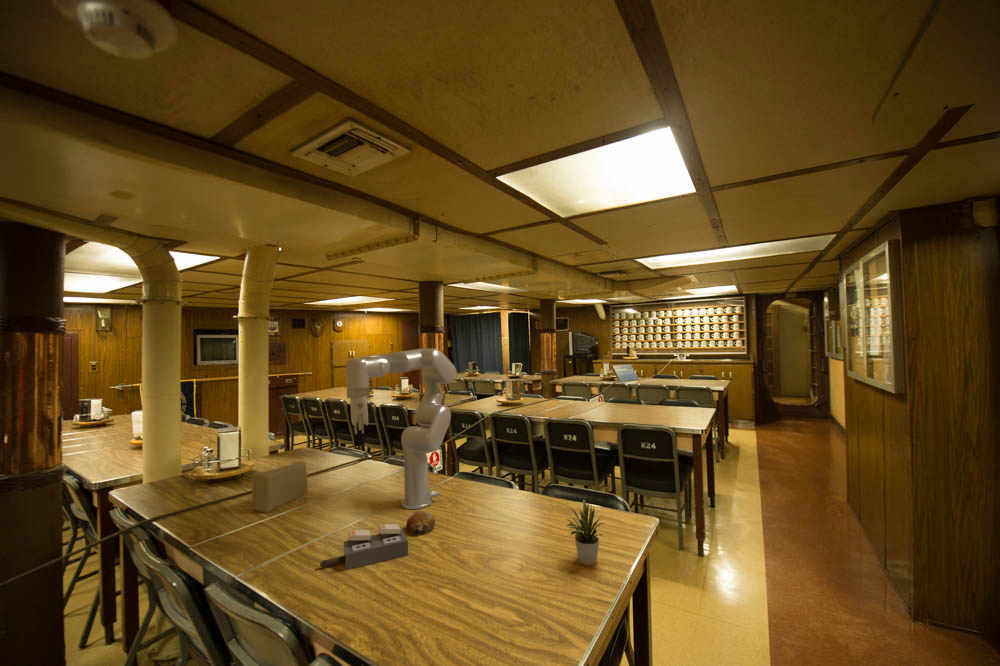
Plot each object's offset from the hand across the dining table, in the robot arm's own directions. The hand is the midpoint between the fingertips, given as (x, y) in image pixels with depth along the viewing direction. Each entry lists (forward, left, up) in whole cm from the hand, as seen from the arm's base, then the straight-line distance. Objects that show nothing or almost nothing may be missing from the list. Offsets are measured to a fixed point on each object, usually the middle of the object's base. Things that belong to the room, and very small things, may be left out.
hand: (359, 444), depth 142 cm
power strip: (+1, +19, -30) cm, 36 cm away
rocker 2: (-7, +17, -24) cm, 31 cm away
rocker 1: (+2, +17, -24) cm, 30 cm away
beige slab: (+27, -46, -31) cm, 62 cm away
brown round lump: (-19, +8, -31) cm, 37 cm away
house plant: (-59, +50, -31) cm, 83 cm away
